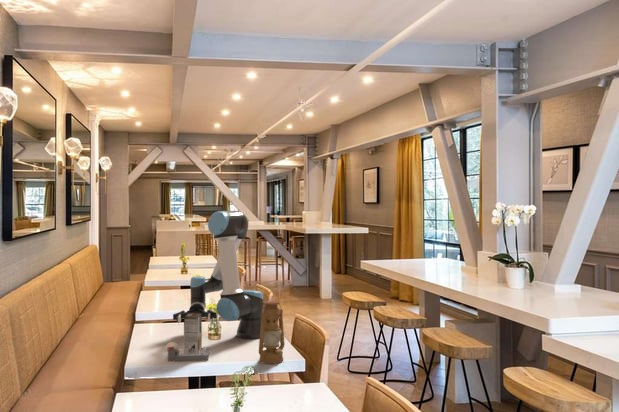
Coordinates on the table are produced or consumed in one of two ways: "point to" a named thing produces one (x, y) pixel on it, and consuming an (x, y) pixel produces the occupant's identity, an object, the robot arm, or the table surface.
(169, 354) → the scale
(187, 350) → the coffee box
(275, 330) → the lantern
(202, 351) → the scale plate
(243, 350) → the table surface
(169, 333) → the table surface
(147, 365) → the table surface
